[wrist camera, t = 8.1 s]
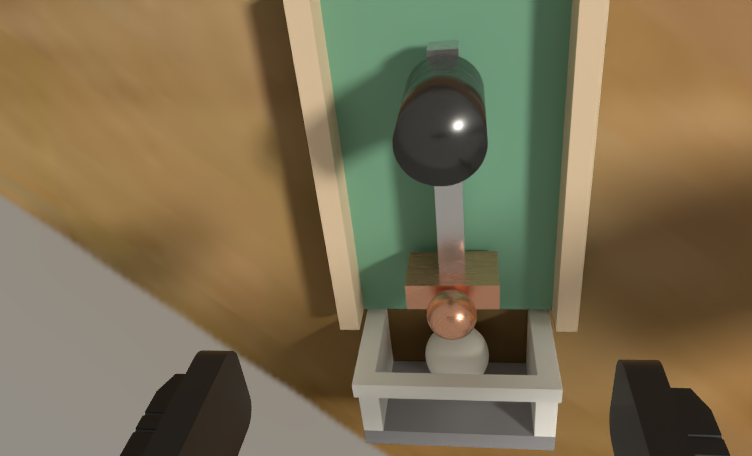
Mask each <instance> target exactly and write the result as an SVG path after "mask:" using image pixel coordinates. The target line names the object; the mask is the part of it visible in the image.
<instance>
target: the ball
mask: <svg viewBox="0 0 752 456" xmlns="http://www.w3.org/2000/svg"><path fill="white" fill-rule="evenodd" d="M425 357H426V363H427V366H428V368H429V370H430V372H431V373H441V374H484V372H485V370H486V368H487V365H488V361H489V351H488V346H487V343H486V341H485V339H484V338H483V336H482V335H481V334H480V333H479V332H478V331H477V330H476V329H475V328H473V330H472V331H471V332H470V333H469V334H468V335H467V336H465V337H464V338H461V339H458V340H446V339H443V338H441V337H439V336H437V335H436V334H435V333H433V334H432V335H431V337H430V338H429V340H428V342H427V345H426V351H425Z"/></svg>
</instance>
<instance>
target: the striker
mask: <svg viewBox="0 0 752 456" xmlns="http://www.w3.org/2000/svg"><path fill="white" fill-rule="evenodd" d="M426 52H427V58H426V59H425V60H423V61H421V62H420V63H419V64H418V65H417V66H416V67H415V68H414V69H413V70H412V72H411V73H410V75H409V77H408V79H407V82H406V86H405V90H404V94H403V98H402V102H401V106H400V110H399V114H398V118H397V122H396V126H395V130H394V134H393V141H392V143H393V152H394V155H395V158H396V160H397V162H398V164H399V166H400V167H401V168H402V169H403V171H404V172H405V173H406V174H407V175H409V176H410V177H411V178H413V179H414V180H416V181H418V182H420V183H423V184H426V185H430V186H434V191H435V209H436V226H437V243H438V252H409V259H408V266H407V274H406V281H405V294H406V304H407V309H427V321H428V324H429V326H430V328H431V330H432V331H433V332H434V333H435V334H436V335H437V336H439V337H441V338H443V339H446V340H458V339H461V338H464V337H465V336H467V335H468V334H469V333H470V332H471V331H472V330H473V328H474V326H475V324H476V321H477V310H476V309H500V281H499V268H498V254H497V251H465V235H464V201H463V181H464V180H466V179H468V178H469V177H470V176H472V175H473V174H474V173H475V172H476V171H477V170H478V169H479V167H480V166H481V165H482V163H483V161H484V159H485V156H486V153H487V148H488V137H487V123H486V109H485V94H484V84H483V80H482V78H481V75H480V74H479V72H478V70H477V69H476V68H475V67H474V66H473V65H472V64H471V63H470V62H469V61H467V60H466V59H464V58H462V57H459V40H447V41H432V42H428V45H427V50H426Z"/></svg>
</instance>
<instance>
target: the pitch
mask: <svg viewBox="0 0 752 456" xmlns="http://www.w3.org/2000/svg"><path fill="white" fill-rule="evenodd" d="M283 4H284V9H285V15H286V21H287V27H288V32H289V38H290V44H291V50H292V55H293V61H294V67H295V73H296V78H297V84H298V90H299V96H300V101H301V107H302V113H303V119H304V124H305V130H306V136H307V141H308V147H309V153H310V159H311V164H312V170H313V176H314V182H315V187H316V193H317V199H318V205H319V210H320V216H321V222H322V228H323V233H324V239H325V245H326V251H327V256H328V262H329V268H330V273H331V279H332V285H333V291H334V296H335V302H336V308H337V314H338V319H339V325H340V330H360V325H361V321H362V316H363V312H364V309H407V304H406V294H405V281H406V274H407V266H408V259H409V252H438V243H437V226H436V209H435V191H434V186H430V185H426V184H423V183H420V182H418V181H416V180H414V179H413V178H411V177H410V176H409V175H407V174H406V173H405V172H404V171H403V169H402V168H401V167H400V166H399V164H398V162H397V160H396V158H395V155H394V152H393V143H392V141H393V134H394V130H395V126H396V122H397V118H398V114H399V110H400V106H401V102H402V98H403V94H404V90H405V86H406V82H407V79H408V77H409V75H410V73H411V72H412V70H413V69H414V68H415V67H416V66H417V65H418V64H419V63H420V62H421V61H423V60H425V59H426V58H427V52H426V50H427V45H428V42H432V41H447V40H459V57H462V58H464V59H466V60H467V61H469V62H470V63H471V64H472V65H473V66H474V67H475V68H476V69H477V70H478V72H479V74H480V75H481V78H482V80H483V84H484V94H485V109H486V123H487V137H488V148H487V153H486V156H485V159H484V161H483V163H482V165H481V166H480V167H479V169H478V170H477V171H476V172H475V173H474V174H473V175H472V176H470V177H469V178H468V179H466V180H464V181H463V201H464V235H465V251H497V254H498V268H499V281H500V309H552V313H553V318H554V324H555V329H556V332H577V331H578V321H579V310H580V300H581V290H582V279H583V269H584V259H585V248H586V238H587V228H588V217H589V207H590V197H591V186H592V176H593V166H594V155H595V145H596V135H597V124H598V114H599V104H600V93H601V83H602V73H603V62H604V52H605V42H606V31H607V21H608V11H609V0H283Z"/></svg>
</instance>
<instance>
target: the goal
mask: <svg viewBox="0 0 752 456" xmlns="http://www.w3.org/2000/svg"><path fill="white" fill-rule="evenodd" d="M352 390H353V395H354V397H359V402H360V408H361V414H362V420H363V426H364V432H365V438H366V443H377V444H403V445H429V446H455V447H480V448H506V449H532V450H554V447H555V435H556V422H557V410H558V403H562V392H563V389H562V383H561V377H560V371H559V366H558V360H557V354H556V348H555V343H554V337H553V331H552V326H551V320H550V314H549V309H528V324H527V350H526V363H494V362H488V365H487V368H486V370H485V372H484V374H441V373H431V372H430V370H429V368H428V366H427V363H426V361H393V354H392V345H391V337H390V328H389V320H388V311H387V309H368V310H367V315H366V320H365V325H364V329H363V334H362V339H361V343H360V348H359V353H358V358H357V362H356V367H355V372H354V376H353V381H352Z"/></svg>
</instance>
